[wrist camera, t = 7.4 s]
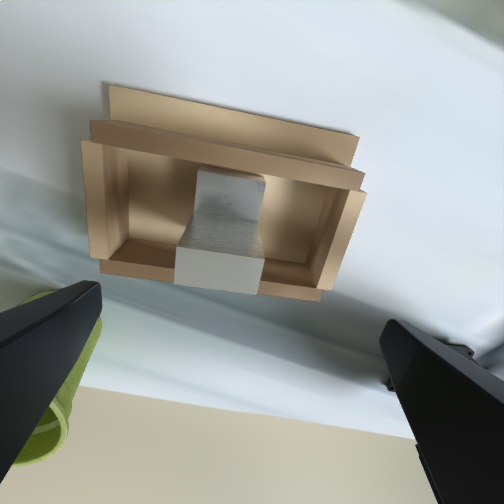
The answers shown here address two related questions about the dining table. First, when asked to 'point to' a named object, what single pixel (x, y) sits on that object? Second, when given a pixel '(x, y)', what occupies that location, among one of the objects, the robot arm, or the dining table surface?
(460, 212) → the dining table surface
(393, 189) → the dining table surface
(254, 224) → the bracket
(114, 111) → the light wood shallow box
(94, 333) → the plant pot
